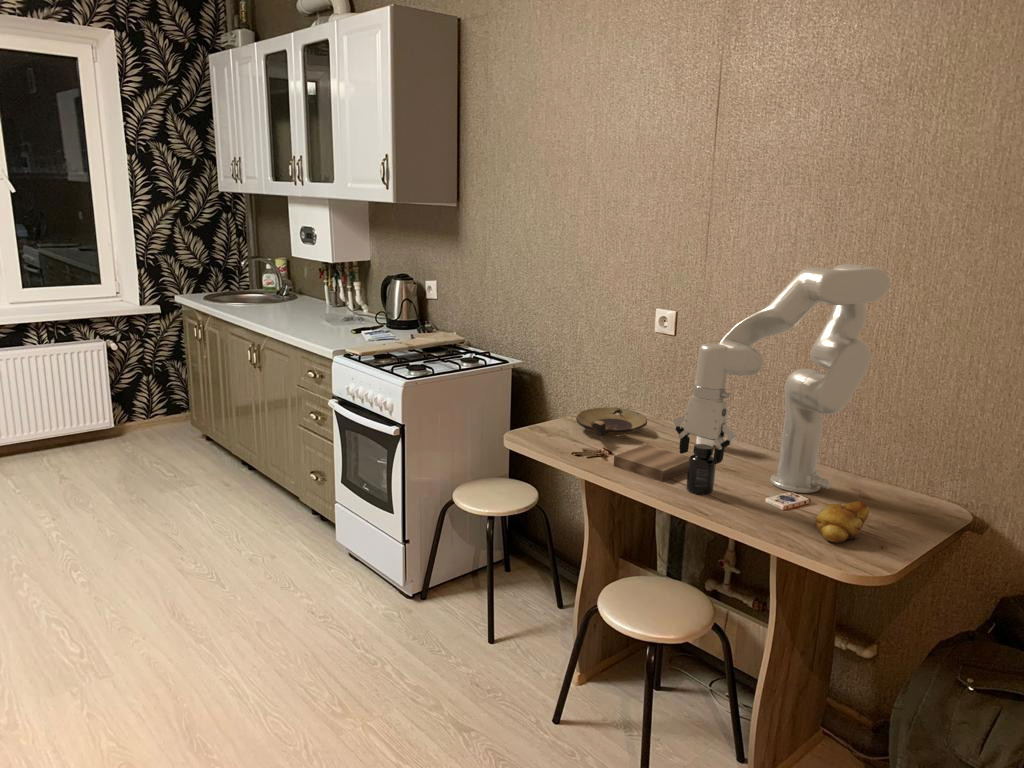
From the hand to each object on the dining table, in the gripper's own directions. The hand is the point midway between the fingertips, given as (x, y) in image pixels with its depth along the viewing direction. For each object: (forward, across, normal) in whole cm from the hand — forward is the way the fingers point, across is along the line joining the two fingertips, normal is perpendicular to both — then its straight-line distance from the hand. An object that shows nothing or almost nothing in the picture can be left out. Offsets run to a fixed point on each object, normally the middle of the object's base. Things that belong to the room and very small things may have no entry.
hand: (700, 457), depth 193 cm
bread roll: (+9, -36, 0) cm, 37 cm away
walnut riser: (+9, +17, -7) cm, 21 cm away
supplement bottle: (+9, -1, -1) cm, 9 cm away
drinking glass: (+8, +18, -37) cm, 42 cm away
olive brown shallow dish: (+10, +46, -23) cm, 53 cm away
